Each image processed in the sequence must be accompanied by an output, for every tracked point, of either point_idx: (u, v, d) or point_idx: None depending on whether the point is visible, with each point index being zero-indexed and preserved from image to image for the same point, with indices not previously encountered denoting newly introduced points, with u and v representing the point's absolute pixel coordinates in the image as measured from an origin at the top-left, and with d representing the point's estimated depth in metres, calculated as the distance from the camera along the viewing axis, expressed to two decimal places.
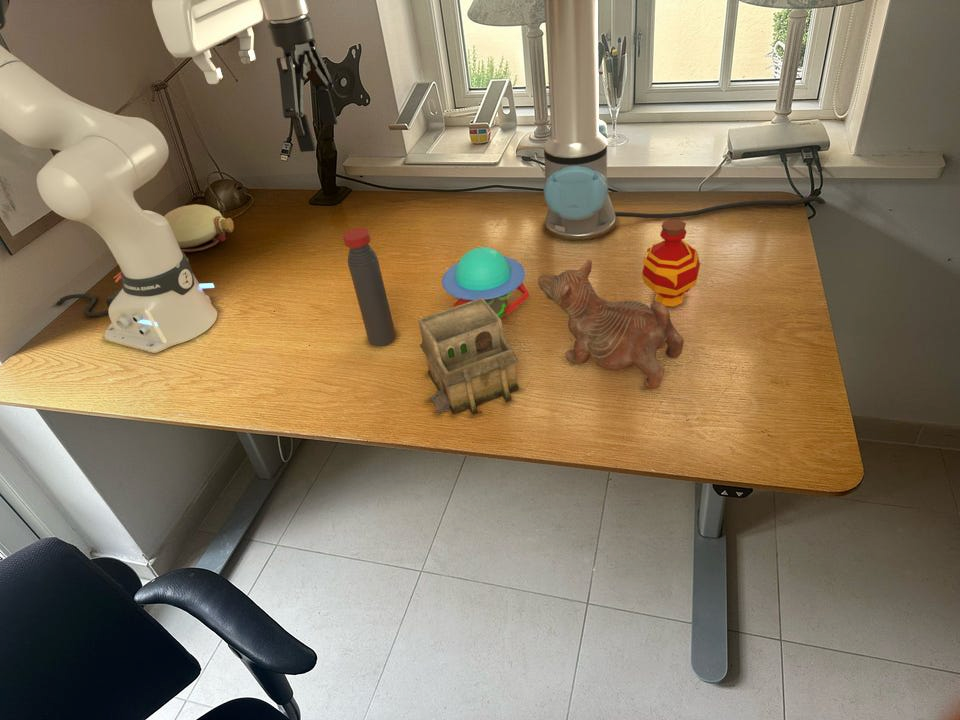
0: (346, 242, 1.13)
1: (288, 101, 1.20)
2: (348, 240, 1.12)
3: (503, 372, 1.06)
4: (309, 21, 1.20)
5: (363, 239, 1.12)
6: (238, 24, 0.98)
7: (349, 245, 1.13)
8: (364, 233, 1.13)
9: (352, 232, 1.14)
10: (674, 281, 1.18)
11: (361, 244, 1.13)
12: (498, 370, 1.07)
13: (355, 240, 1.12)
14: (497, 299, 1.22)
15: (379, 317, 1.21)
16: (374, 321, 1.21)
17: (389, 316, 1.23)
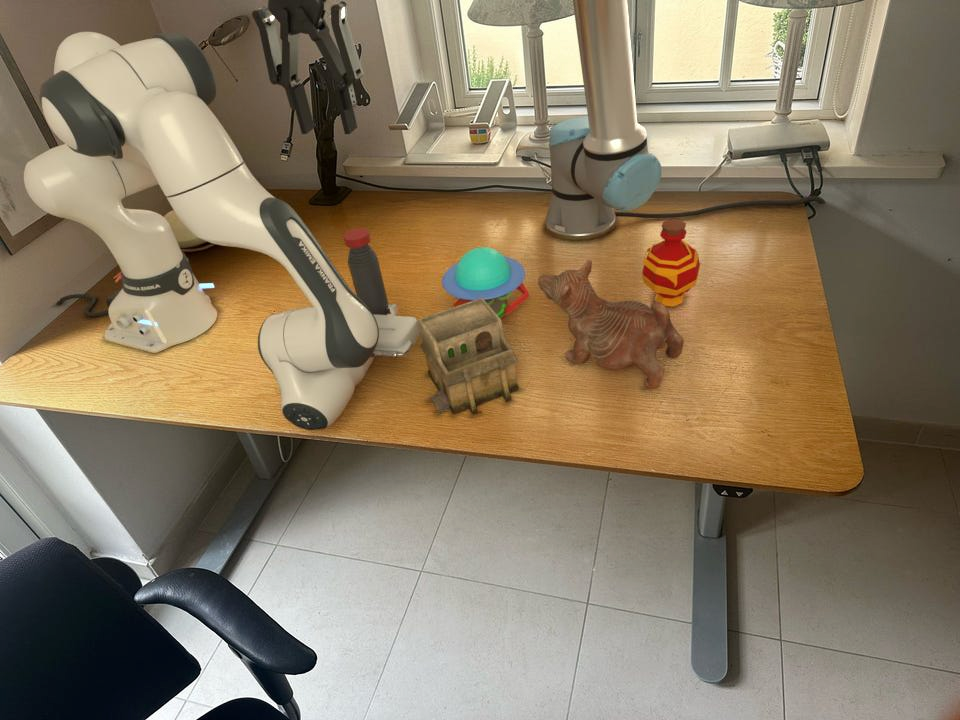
0: (346, 242, 1.13)
1: None
2: (348, 240, 1.12)
3: (503, 372, 1.06)
4: None
5: (363, 239, 1.12)
6: None
7: (349, 245, 1.13)
8: (364, 233, 1.13)
9: (352, 232, 1.14)
10: (674, 281, 1.18)
11: (361, 244, 1.13)
12: (498, 370, 1.07)
13: (355, 240, 1.12)
14: (497, 299, 1.22)
15: None
16: None
17: None
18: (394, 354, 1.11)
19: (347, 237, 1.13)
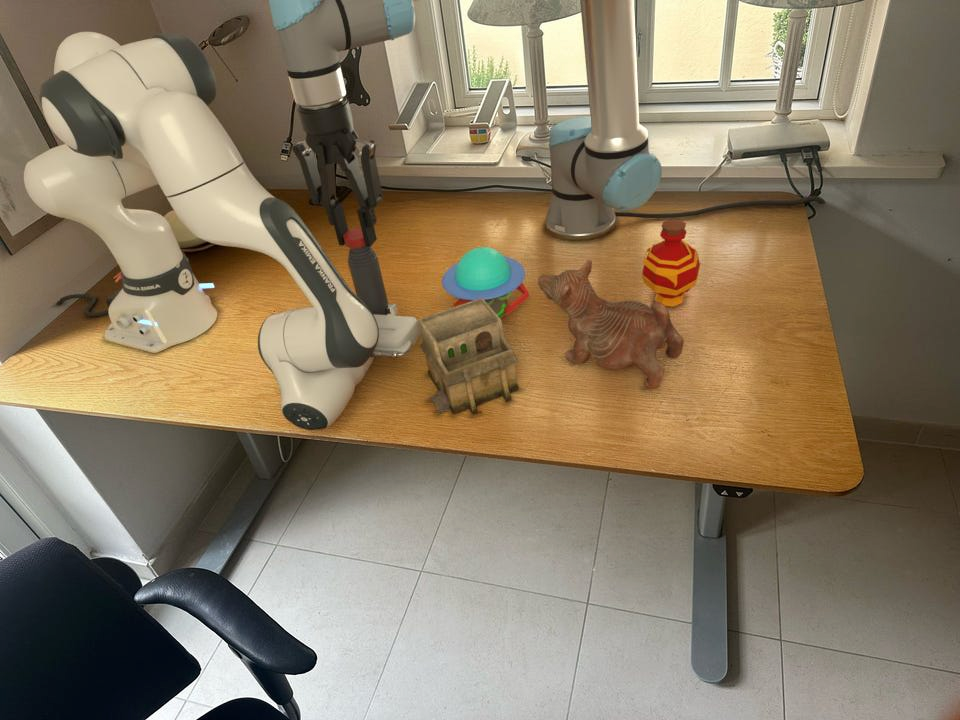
0: (346, 242, 1.13)
1: None
2: (348, 240, 1.12)
3: (503, 372, 1.06)
4: (311, 115, 0.98)
5: (363, 239, 1.12)
6: None
7: (349, 245, 1.13)
8: None
9: (352, 232, 1.14)
10: (674, 281, 1.18)
11: (361, 244, 1.13)
12: (498, 370, 1.07)
13: (355, 240, 1.12)
14: (497, 299, 1.22)
15: None
16: None
17: None
18: (394, 354, 1.11)
19: (347, 237, 1.13)
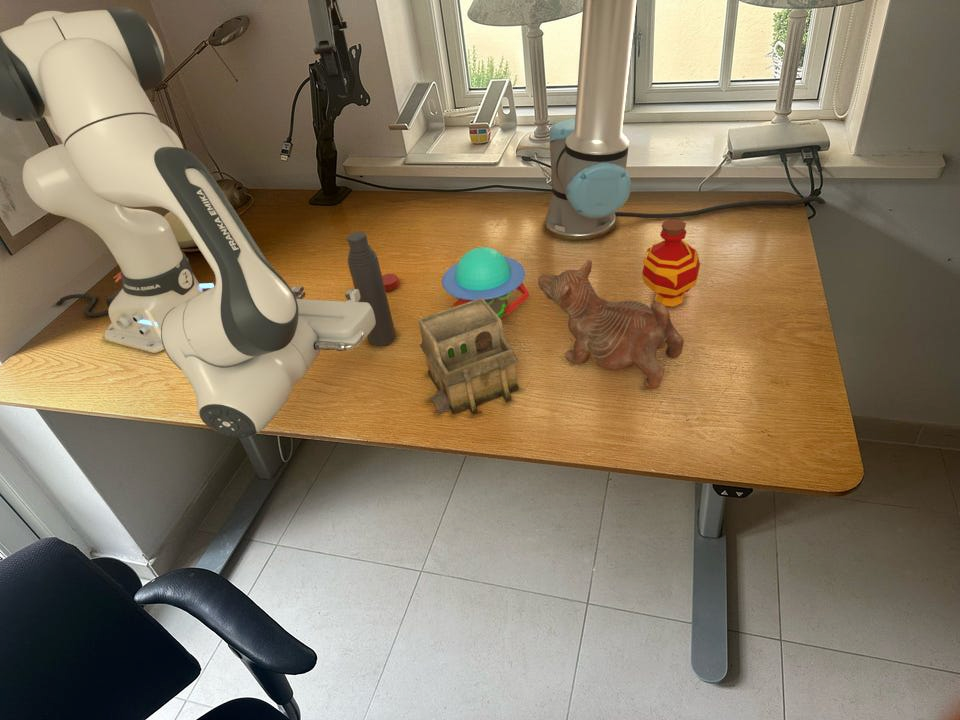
0: (394, 285, 1.39)
1: (321, 32, 1.03)
2: (395, 281, 1.39)
3: (503, 372, 1.06)
4: None
5: None
6: None
7: (396, 285, 1.40)
8: (389, 275, 1.41)
9: (384, 281, 1.40)
10: (674, 281, 1.18)
11: None
12: (498, 370, 1.07)
13: (397, 278, 1.40)
14: (497, 299, 1.22)
15: (380, 317, 1.21)
16: None
17: (389, 316, 1.23)
18: (341, 346, 0.93)
19: (391, 282, 1.39)
